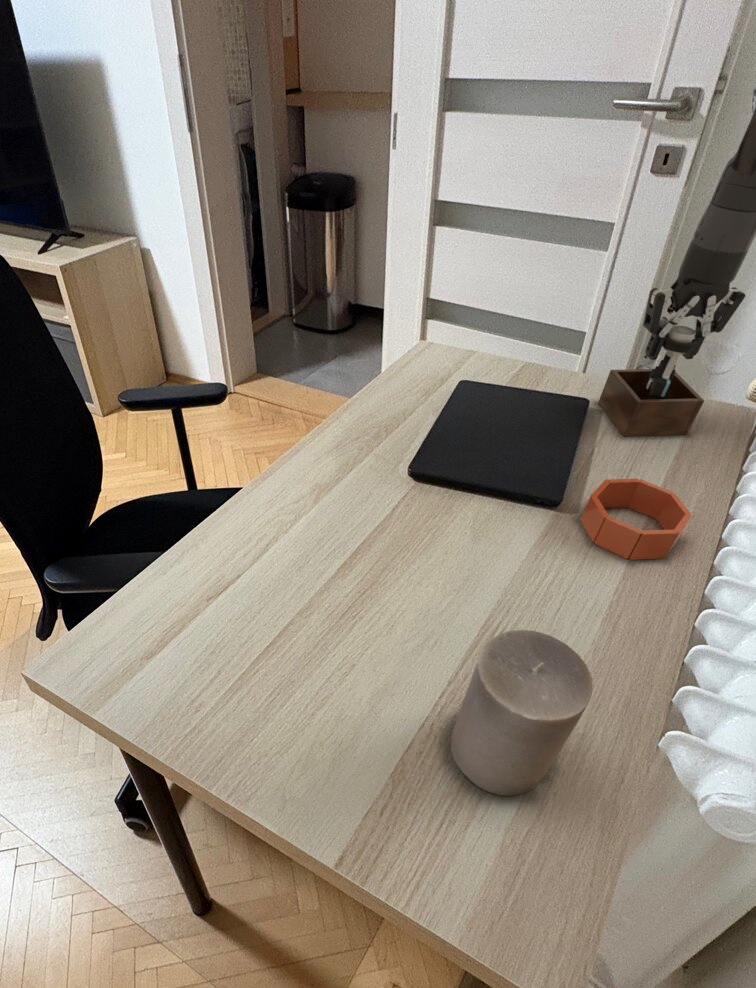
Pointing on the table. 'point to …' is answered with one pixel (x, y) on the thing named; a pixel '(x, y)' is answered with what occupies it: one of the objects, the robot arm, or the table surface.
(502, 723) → the pillar candle
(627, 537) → the bowl
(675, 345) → the push button
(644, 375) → the box
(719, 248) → the robot arm
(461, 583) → the table surface
